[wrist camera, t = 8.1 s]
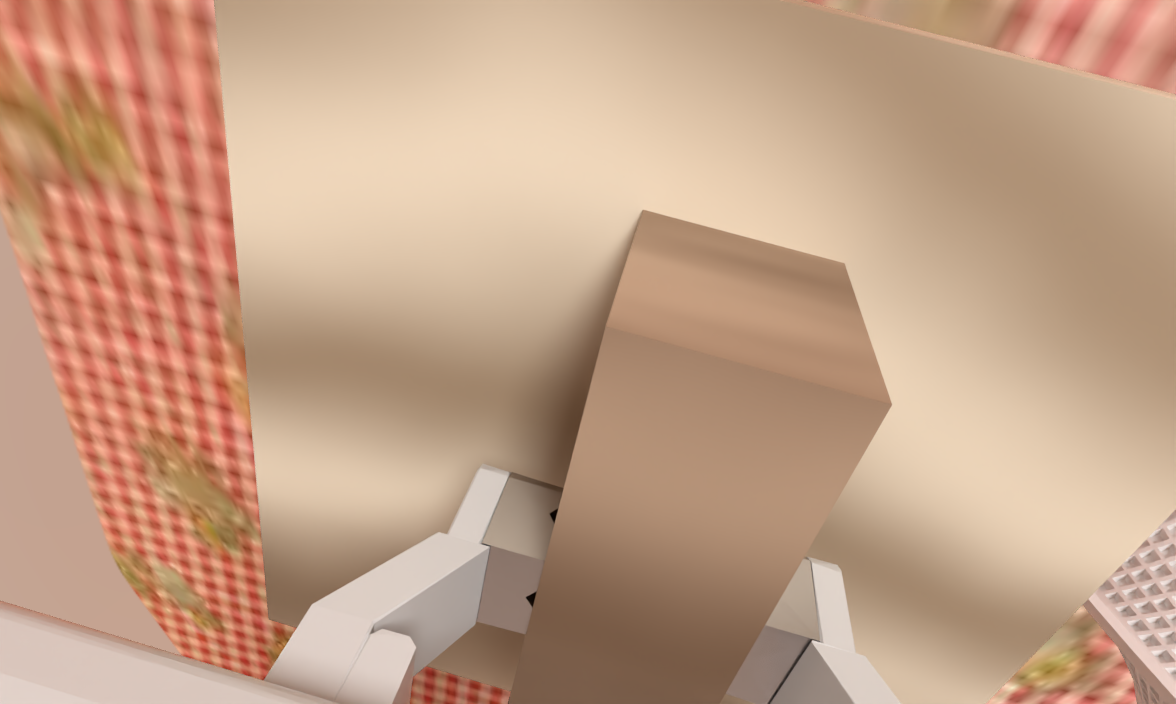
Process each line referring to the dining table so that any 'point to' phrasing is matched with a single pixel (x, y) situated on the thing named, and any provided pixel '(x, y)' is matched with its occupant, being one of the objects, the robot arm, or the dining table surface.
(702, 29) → the cover board
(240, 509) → the dining table surface
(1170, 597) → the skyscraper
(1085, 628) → the dining table surface
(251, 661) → the dining table surface
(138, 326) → the dining table surface
